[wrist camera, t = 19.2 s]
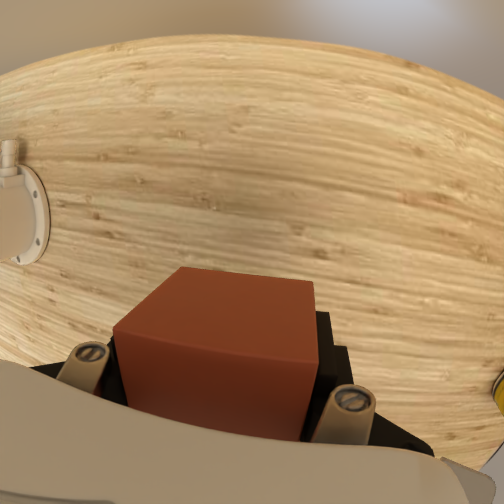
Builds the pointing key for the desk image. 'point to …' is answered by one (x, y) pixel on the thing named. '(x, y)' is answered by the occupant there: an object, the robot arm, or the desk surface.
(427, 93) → the desk surface
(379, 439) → the robot arm
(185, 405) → the terracotta block
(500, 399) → the pill bottle
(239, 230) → the desk surface
